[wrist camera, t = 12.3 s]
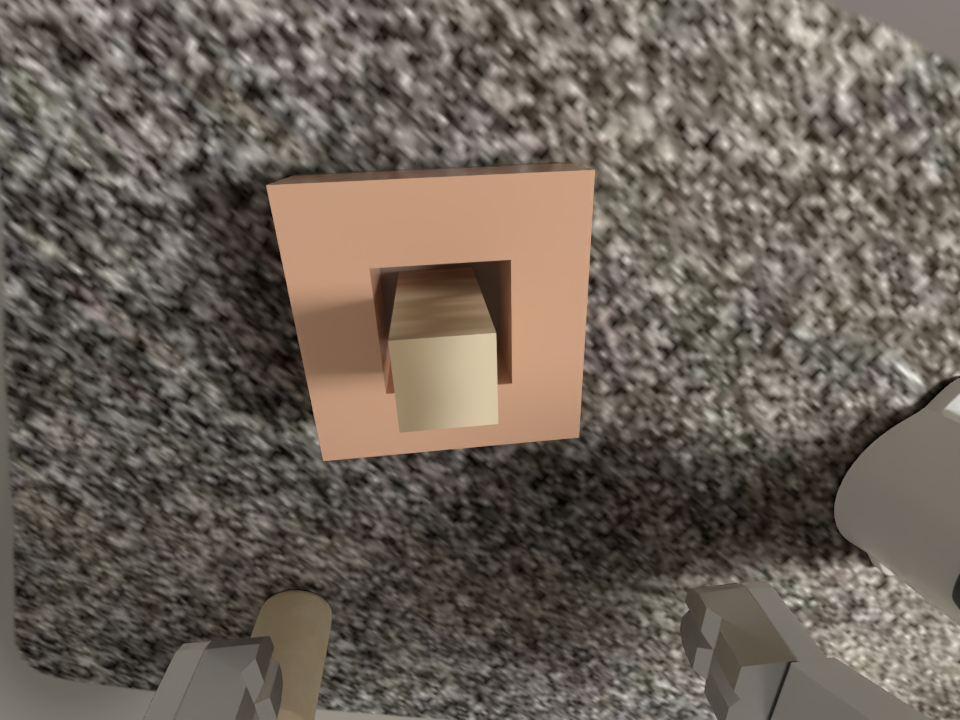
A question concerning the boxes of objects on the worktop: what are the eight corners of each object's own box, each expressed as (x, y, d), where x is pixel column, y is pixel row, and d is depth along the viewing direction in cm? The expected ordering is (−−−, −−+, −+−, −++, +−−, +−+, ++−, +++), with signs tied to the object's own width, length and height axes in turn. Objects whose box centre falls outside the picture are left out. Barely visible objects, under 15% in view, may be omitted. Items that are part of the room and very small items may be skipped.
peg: (471, 266, 27) (496, 332, 18) (474, 333, 29) (498, 423, 20) (399, 270, 27) (388, 340, 18) (406, 338, 29) (399, 432, 20)
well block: (562, 162, 27) (595, 169, 22) (555, 390, 33) (578, 437, 28) (296, 174, 25) (265, 185, 21) (338, 408, 31) (323, 461, 26)
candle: (288, 578, 37) (245, 722, 28) (347, 609, 39) (325, 753, 30) (245, 618, 38) (190, 769, 29) (304, 647, 40) (270, 796, 31)
